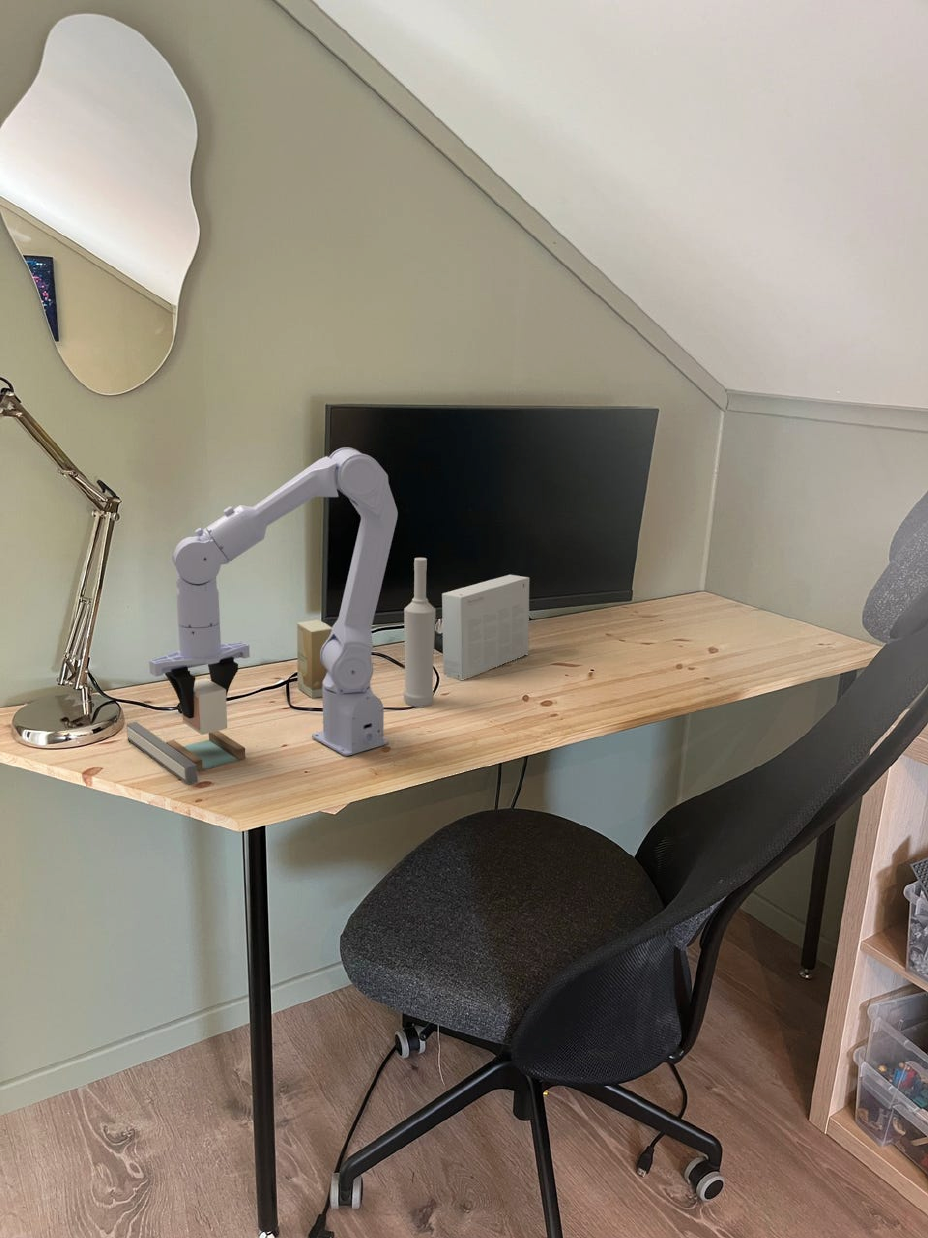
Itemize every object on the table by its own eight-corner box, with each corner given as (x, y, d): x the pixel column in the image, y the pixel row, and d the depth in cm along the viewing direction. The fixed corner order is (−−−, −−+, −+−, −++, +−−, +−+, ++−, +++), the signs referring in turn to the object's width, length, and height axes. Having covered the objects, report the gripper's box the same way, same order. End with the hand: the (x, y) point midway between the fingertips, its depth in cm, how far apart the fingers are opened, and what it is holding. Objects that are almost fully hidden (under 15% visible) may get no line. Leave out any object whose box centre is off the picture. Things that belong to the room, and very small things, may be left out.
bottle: (426, 709, 162) (429, 563, 155) (398, 704, 164) (399, 560, 157) (438, 699, 167) (440, 557, 160) (410, 695, 169) (412, 554, 162)
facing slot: (245, 757, 142) (245, 747, 141) (194, 772, 136) (194, 761, 136) (216, 739, 148) (215, 729, 148) (166, 752, 143) (166, 742, 142)
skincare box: (296, 688, 171) (295, 621, 167) (319, 684, 173) (318, 618, 170) (312, 699, 165) (311, 631, 162) (335, 695, 168) (334, 627, 164)
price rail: (197, 781, 134) (196, 764, 133) (186, 784, 133) (185, 768, 132) (137, 737, 148) (136, 721, 147) (126, 739, 147) (125, 724, 146)
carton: (207, 716, 144) (206, 678, 143) (227, 728, 140) (225, 689, 138) (181, 722, 142) (179, 683, 140) (200, 735, 137) (198, 695, 136)
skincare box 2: (507, 649, 196) (510, 573, 191) (529, 655, 192) (533, 577, 188) (439, 674, 180) (441, 591, 175) (462, 681, 176) (464, 597, 172)
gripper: (162, 638, 129) (168, 732, 133) (259, 620, 138) (261, 709, 142) (140, 626, 134) (146, 717, 138) (234, 610, 144) (238, 696, 147)
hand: (203, 712), depth 140 cm, fingers closed on carton, 4 cm apart
